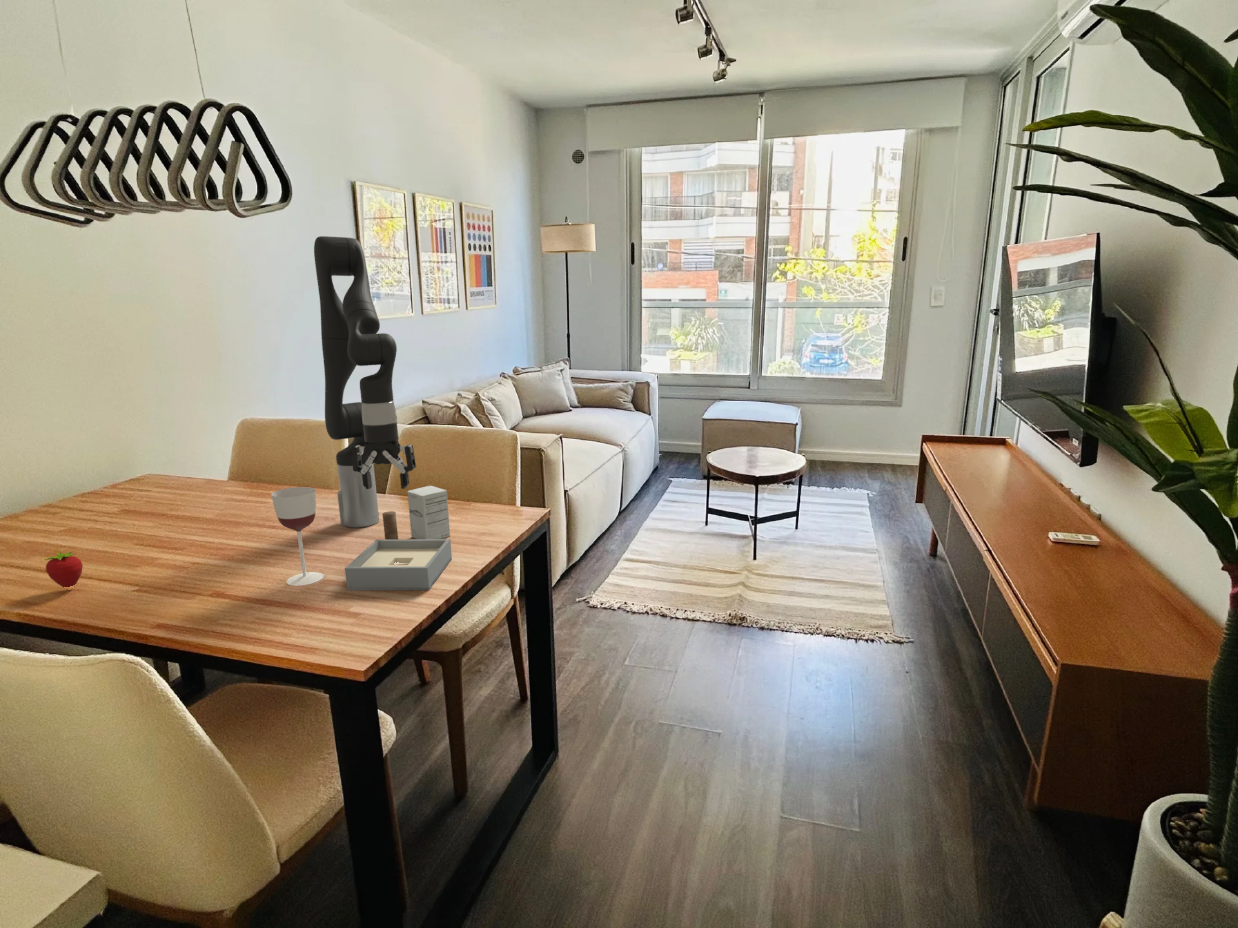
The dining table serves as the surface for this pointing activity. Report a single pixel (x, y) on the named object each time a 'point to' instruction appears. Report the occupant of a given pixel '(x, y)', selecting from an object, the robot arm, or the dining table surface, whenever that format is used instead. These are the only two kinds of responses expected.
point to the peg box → (382, 574)
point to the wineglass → (297, 522)
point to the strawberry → (64, 569)
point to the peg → (390, 525)
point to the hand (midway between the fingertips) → (386, 488)
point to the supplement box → (428, 513)
